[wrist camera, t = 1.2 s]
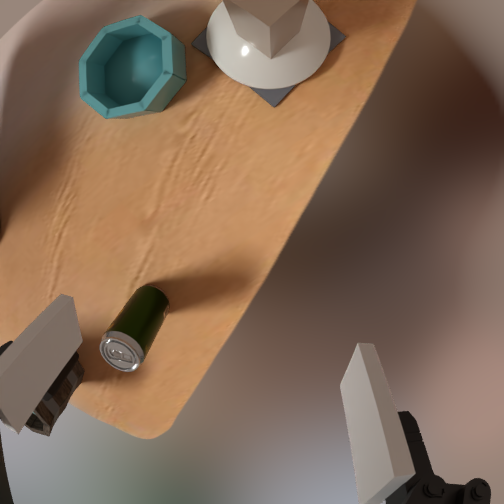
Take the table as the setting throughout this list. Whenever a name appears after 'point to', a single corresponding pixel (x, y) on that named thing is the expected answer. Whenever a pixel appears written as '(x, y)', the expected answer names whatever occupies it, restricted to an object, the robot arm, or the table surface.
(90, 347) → the table surface
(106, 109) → the bowl
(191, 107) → the table surface
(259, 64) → the lid
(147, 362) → the table surface
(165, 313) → the beer can
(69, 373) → the mug
